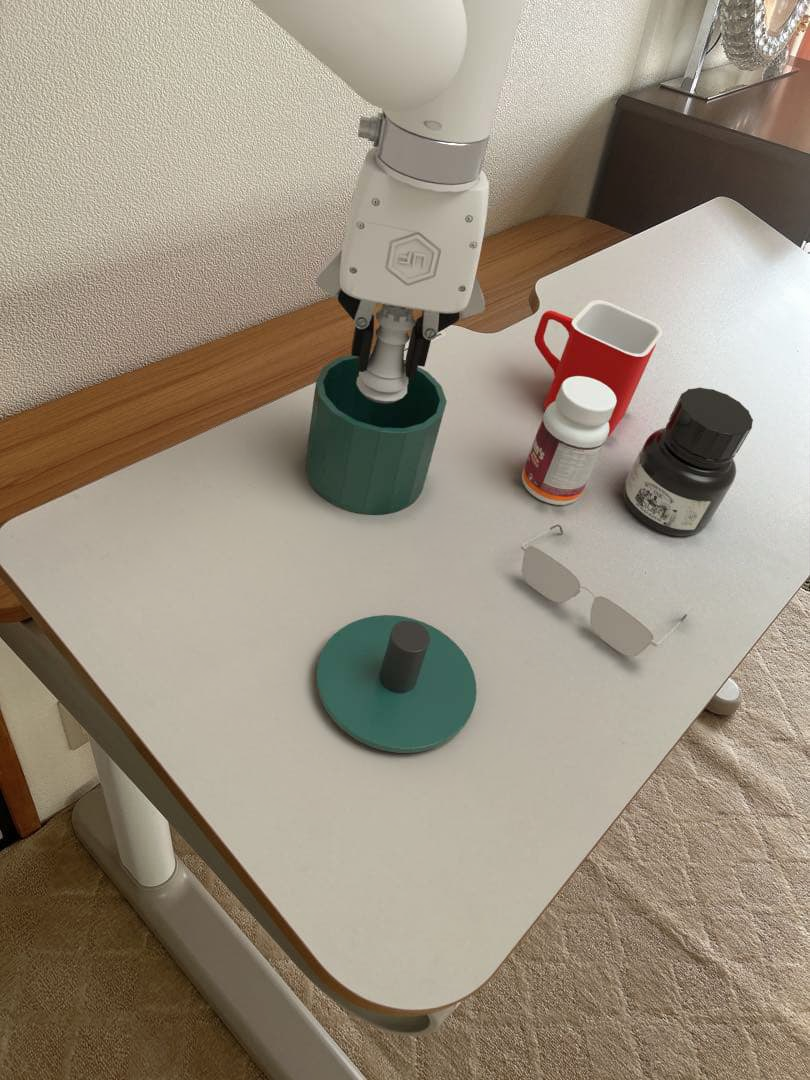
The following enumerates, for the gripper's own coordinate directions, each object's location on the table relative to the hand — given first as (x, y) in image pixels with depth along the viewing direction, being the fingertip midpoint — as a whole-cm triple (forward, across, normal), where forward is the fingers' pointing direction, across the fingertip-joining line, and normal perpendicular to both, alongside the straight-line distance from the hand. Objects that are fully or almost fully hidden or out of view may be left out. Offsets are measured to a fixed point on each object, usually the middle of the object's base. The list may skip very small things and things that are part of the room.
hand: (386, 364), depth 74 cm
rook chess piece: (+3, 0, 0) cm, 3 cm away
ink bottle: (+12, +30, +1) cm, 33 cm away
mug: (+12, +22, +16) cm, 30 cm away
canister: (+12, 0, 0) cm, 12 cm away
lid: (+12, +3, -24) cm, 27 cm away
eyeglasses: (+12, +21, -12) cm, 27 cm away
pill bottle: (+12, +18, +2) cm, 22 cm away
